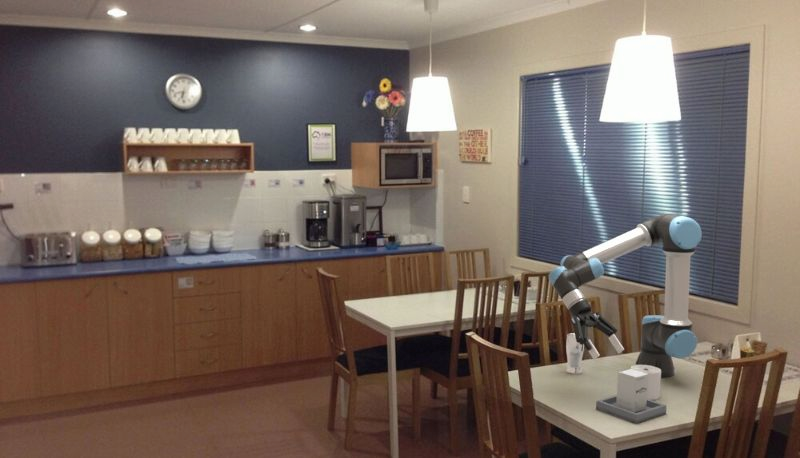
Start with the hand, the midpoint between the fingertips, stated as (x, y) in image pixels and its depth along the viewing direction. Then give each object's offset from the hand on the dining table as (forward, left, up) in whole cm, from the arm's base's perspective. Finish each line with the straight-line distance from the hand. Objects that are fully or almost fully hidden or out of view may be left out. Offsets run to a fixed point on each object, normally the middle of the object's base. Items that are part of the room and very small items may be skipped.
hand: (609, 354), depth 255 cm
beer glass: (-19, -31, -18) cm, 40 cm away
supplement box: (0, +10, -17) cm, 20 cm away
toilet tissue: (-18, +3, -18) cm, 26 cm away
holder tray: (0, +10, -18) cm, 20 cm away
